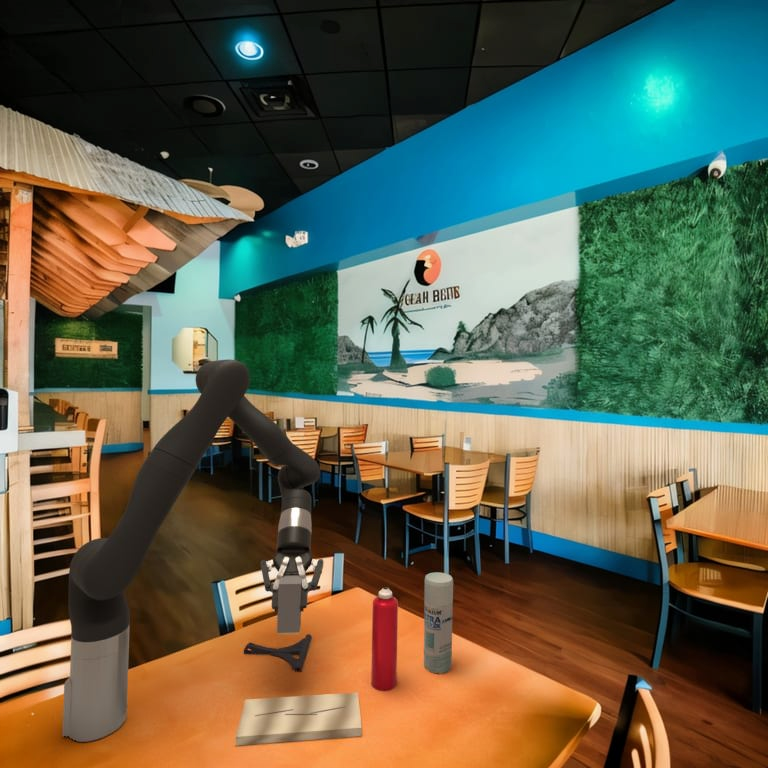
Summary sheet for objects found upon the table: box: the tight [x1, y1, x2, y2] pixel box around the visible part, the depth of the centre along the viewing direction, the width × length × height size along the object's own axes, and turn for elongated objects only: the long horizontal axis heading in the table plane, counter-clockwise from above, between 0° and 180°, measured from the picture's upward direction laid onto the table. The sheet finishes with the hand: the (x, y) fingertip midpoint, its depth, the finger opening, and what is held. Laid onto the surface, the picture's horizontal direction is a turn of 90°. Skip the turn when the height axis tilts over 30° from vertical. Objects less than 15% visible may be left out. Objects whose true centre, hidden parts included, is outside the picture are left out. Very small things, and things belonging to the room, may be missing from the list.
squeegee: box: [243, 633, 313, 673], centre depth 110 cm, size 14×15×3 cm
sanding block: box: [276, 575, 302, 635], centre depth 96 cm, size 5×5×10 cm
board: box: [235, 691, 363, 747], centre depth 87 cm, size 22×10×2 cm, turn 97°
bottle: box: [370, 586, 399, 692], centre depth 100 cm, size 5×5×20 cm
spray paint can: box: [423, 571, 454, 674], centre depth 106 cm, size 6×6×20 cm
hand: (289, 610), depth 94 cm, fingers closed on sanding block, 4 cm apart
